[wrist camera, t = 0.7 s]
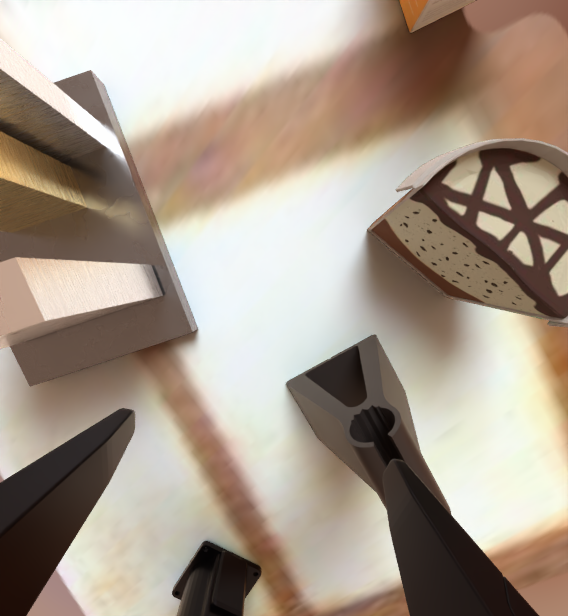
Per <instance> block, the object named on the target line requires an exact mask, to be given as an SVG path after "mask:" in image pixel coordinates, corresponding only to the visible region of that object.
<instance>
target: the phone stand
mask: <svg viewBox="0 0 568 616" xmlns="http://www.w3.org/2000/svg"><path fill="white" fill-rule="evenodd" d="M286 385H287V386H288V388H289V390H290V391H291V393H292V395H293V397H294V398H295V400H296V402H297V403H298V405H299V407H300V408H301V410H302V412H303V414H304V415H305V417H306V419H307V420H308V422H309V424H310V426H311V427H312V429H313V431H314V432H315V434H316V436H317V437H318V439H319V440H320V441H322V442H323V443H324V444H325V445H326V446H327V447H328V448H329V449H330V450H331V451H332V452H333V453H334V454H336V455H337V456H338V457H339V458H340V459H341V460H342V461H343V462H344V463H345V464H346V465H347V466H349V467H350V468H351V469H352V470H353V471H354V472H355V473H356V474H357V475H358V476H359V477H360V478H362V479H363V480H364V481H365V482H366V483H367V484H368V485H369V486H370V487H371V488H372V489H373V490H374V491H376V492H377V494H378V496H379V497H380V499H381V501H382V503H383V504H384V506H385V508H386V510H387V507H386V500H385V493H384V486H383V474H384V471H385V470H386V468H387V466H388V464H389V462H390V461H391V460H392V459H398V460H402V461H404V462H406V463H407V465H408V466H409V467H410V468H411V469H412V470H413V472H414V473H415V474H416V475H417V476H418V477H419V478H420V480H421V481H422V482H423V483H424V484H425V485H426V487H427V488H428V489H429V490H430V491H431V492H432V493H433V495H434V496H435V497H436V498H437V499H438V500H439V501H440V503H441V504H442V505H443V506H444V507H445V508H446V510H447V511H448V512H449V513H450V514H451V511H450V508H449V505H448V503H447V502H446V500H445V498H444V496H443V494H442V492H441V490H440V488H439V486H438V485H437V483H436V481H435V479H434V477H433V475H432V473H431V471H430V469H429V468H428V466H427V464H426V462H425V460H424V458H423V456H422V454H421V451H420V447H419V443H418V440H417V436H416V432H415V428H414V424H413V420H412V416H411V412H410V408H409V404H408V401H407V397H406V393H405V390H404V388H403V386H402V384H401V383H400V381H399V379H398V377H397V375H396V373H395V371H394V369H393V367H392V365H391V363H390V361H389V359H388V357H387V356H386V354H385V352H384V350H383V348H382V346H381V344H380V342H379V340H378V338H377V336H376V335H372V336H370V337H368V338H366V339H364V340H362V341H360V342H359V343H357V344H355V345H353V346H351V347H349V348H348V349H346V350H344V351H342V352H340V353H338V354H337V355H335V356H333V357H332V358H331V359H327V360H326V361H324V362H322V363H320V364H318V365H316V366H315V367H313V368H311V369H309V370H307V371H305V372H304V373H302V374H300V375H298V376H296V377H294V378H293V379H291V380H289V381H288V382H287V383H286Z"/></svg>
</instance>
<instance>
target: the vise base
mask: <svg viewBox="0 0 568 616" xmlns="http://www.w3.org/2000/svg"><path fill="white" fill-rule="evenodd" d="M0 131H1V132H3V133H5V134H7V135H9V136H11V137H13V138H15V139H17V140H19V141H21V142H23V143H25V144H27V145H28V146H30V147H32V148H34V149H36V150H38V151H40V152H42V153H44V154H46V155H48V156H50V157H52V158H54V159H56V160H58V161H60V162H62V163H64V164H66V165H68V166H69V167H71V170H72V172H73V175H74V177H75V179H76V182H77V184H78V187H79V189H80V191H81V194H82V196H83V199H84V201H85V203H86V206H87V207H86V208H83V209H80V210H78V211H75V212H72V213H69V214H66V215H63V216H60V217H57V218H54V219H51V220H48V221H45V222H42V223H39V224H36V225H33V226H30V227H27V228H25V229H22V230H19V231H16V232H13V233H11V232H4V231H0V262H3V261H6V260H9V259H12V258H15V257H19V258H37V259H55V260H74V261H92V262H110V263H128V264H146V265H151V266H152V269H153V271H154V274H155V276H156V279H157V281H158V284H159V286H160V289H161V291H162V294H163V296H160V297H157V298H154V299H151V300H148V301H145V302H142V303H139V304H137V305H134V306H131V307H128V308H125V309H122V310H119V311H116V312H113V313H110V314H107V315H104V316H101V317H98V318H95V319H92V320H89V321H86V322H83V323H80V324H77V325H74V326H71V327H68V328H65V329H62V330H59V331H56V332H53V333H50V334H47V335H44V336H41V337H38V338H35V339H32V340H29V341H26V342H23V343H20V344H17V345H13V346H10V347H11V349H12V351H13V353H14V355H15V357H16V359H17V361H18V363H19V365H20V367H21V369H22V371H23V373H24V375H25V377H26V380H27V382H28V384H29V386H33V385H36V384H39V383H42V382H45V381H48V380H51V379H54V378H57V377H60V376H63V375H66V374H69V373H72V372H75V371H78V370H81V369H84V368H87V367H90V366H93V365H96V364H99V363H102V362H105V361H108V360H111V359H114V358H117V357H120V356H123V355H126V354H129V353H132V352H135V351H138V350H141V349H144V348H147V347H150V346H153V345H156V344H159V343H162V342H165V341H168V340H171V339H174V338H177V337H180V336H183V335H186V334H189V333H192V332H194V331H195V330H196V329H198V327H197V325H196V322H195V320H194V317H193V314H192V312H191V309H190V307H189V304H188V301H187V299H186V296H185V294H184V291H183V288H182V286H181V283H180V281H179V278H178V275H177V273H176V270H175V268H174V265H173V263H172V260H171V257H170V255H169V252H168V250H167V247H166V244H165V242H164V239H163V237H162V234H161V231H160V229H159V226H158V224H157V221H156V218H155V216H154V213H153V211H152V208H151V205H150V203H149V200H148V198H147V195H146V192H145V190H144V187H143V185H142V182H141V179H140V177H139V174H138V172H137V169H136V166H135V164H134V161H133V159H132V156H131V153H130V151H129V148H128V146H127V143H126V141H125V138H124V135H123V133H122V130H121V128H120V125H119V122H118V120H117V117H116V115H115V112H114V109H113V107H112V104H111V102H110V99H109V96H108V94H107V91H106V89H105V86H104V84H103V83H102V82H101V81H100V80H99V79H98V78H97V76H96V75H95V74H94V73H93V72H92V71H91V70H90V71H87V72H84V73H81V74H78V75H75V76H72V77H69V78H66V79H63V80H61V81H58V82H55V83H52V82H51V81H50V80H49V79H48V78H47V77H45V76H44V75H43V74H42V73H41V72H40V71H38V70H37V69H36V68H35V67H34V66H32V65H31V64H30V63H29V62H28V61H27V60H25V59H24V58H23V57H22V56H21V55H20V54H18V53H17V52H16V51H15V50H14V49H12V48H11V47H10V46H9V45H8V44H7V43H5V42H4V41H3V40H2V39H1V38H0Z"/></svg>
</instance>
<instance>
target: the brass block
mask: <svg viewBox="0 0 568 616" xmlns="http://www.w3.org/2000/svg"><path fill="white" fill-rule="evenodd" d="M86 207H87V206H86V203H85V201H84V199H83V196H82V194H81V191H80V189H79V187H78V184H77V182H76V179H75V177H74V175H73V172H72V170H71V167H69V166H68V165H66V164H64V163H62V162H60V161H58V160H56V159H54V158H52V157H50V156H48V155H46V154H44V153H42V152H40V151H38V150H36V149H34V148H32V147H30V146H28V145H27V144H25V143H23V142H21V141H19V140H17V139H15V138H13V137H11V136H9V135H7V134H5V133H3V132H1V131H0V231H4V232H11V233H13V232H16V231H19V230H22V229H25V228H27V227H30V226H33V225H36V224H39V223H42V222H45V221H48V220H51V219H54V218H57V217H60V216H63V215H66V214H69V213H72V212H75V211H78V210H80V209H83V208H86Z"/></svg>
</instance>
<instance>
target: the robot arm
mask: <svg viewBox="0 0 568 616" xmlns="http://www.w3.org/2000/svg"><path fill="white" fill-rule="evenodd" d="M134 430H135V412H134V410H131V409H125V408H122V409H119V410H117V411H116V412H114V413H113V414H111V415H109V416H108V417H106V418H104V419H103V420H101V421H100V422H98V423H96V424H95V425H93V426H91V427H90V428H88V429H87V430H85V431H83V432H82V433H80V434H78V435H77V436H75V437H74V438H72V439H70V440H69V441H67V442H65V443H64V444H62V445H61V446H59V447H57V448H56V449H54V450H53V451H51V452H49V453H48V454H46V455H44V456H43V457H41V458H40V459H38V460H36V461H35V462H33V463H31V464H30V465H28V466H27V467H25V468H23V469H22V470H20V471H18V472H17V473H15V474H14V475H12V476H10V477H9V478H7V479H5V480H4V481H2V482H1V483H0V616H26V615H27V614H28V612H29V611H30V609H31V607H32V606H33V604H34V602H35V601H36V599H37V598H38V596H39V594H40V593H41V591H42V590H43V588H44V586H45V585H46V583H47V581H48V580H49V578H50V577H51V575H52V574H53V572H54V570H55V569H56V567H57V566H58V564H59V562H60V561H61V559H62V558H63V556H64V554H65V553H66V551H67V550H68V548H69V546H70V545H71V543H72V542H73V540H74V538H75V537H76V535H77V533H78V532H79V530H80V529H81V527H82V525H83V524H84V522H85V521H86V519H87V517H88V516H89V514H90V513H91V511H92V509H93V508H94V506H95V505H96V503H97V501H98V500H99V498H100V497H101V495H102V493H103V492H104V490H105V488H106V487H107V485H108V483H109V482H110V480H111V478H112V476H113V474H114V472H115V470H116V468H117V466H118V464H119V462H120V460H121V458H122V456H123V454H124V452H125V450H126V448H127V446H128V444H129V442H130V440H131V438H132V436H133V433H134ZM383 486H384V493H385V500H386V507H387V514H388V521H389V527H390V532H391V537H392V541H393V546H394V550H395V554H396V558H397V563H398V567H399V571H400V575H401V580H402V584H403V588H404V592H405V597H406V601H407V605H408V610H409V614H410V616H539V615H538V614H537V613H536V612H535V610H534V609H533V608H532V607H531V606H530V605H529V604H528V603H527V601H526V600H525V599H524V598H523V597H522V596H521V595H520V594H519V593H518V591H517V590H516V589H515V588H514V587H513V586H512V584H511V583H510V582H509V581H508V580H507V579H506V578H505V577H503V575H502V573H501V572H500V571H499V570H498V568H497V567H496V566H495V565H494V564H493V563H492V561H491V560H490V559H489V558H488V557H487V556H486V555H485V553H484V552H483V551H482V550H481V549H480V548H479V546H478V545H477V544H476V543H475V542H474V541H473V540H472V538H471V537H470V536H469V535H468V534H467V533H466V531H465V530H464V529H463V528H462V527H461V526H460V525H459V523H458V522H457V521H456V520H455V519H454V518H453V516H452V515H451V514H450V513H449V512H448V511H447V510H446V508H445V507H444V506H443V505H442V504H441V503H440V501H439V500H438V499H437V498H436V497H435V496H434V495H433V493H432V492H431V491H430V490H429V489H428V488H427V487H426V485H425V484H424V483H423V482H422V481H421V480H420V478H419V477H418V476H417V475H416V474H415V473H414V472H413V470H412V469H411V468H410V467H409V466H408V465H407V463H406V462H404V461H402V460H398V459H392V460H391V461H390V462H389V464H388V466H387V468H386V470H385V471H384V474H383ZM205 547H206V548H205ZM260 576H261V568H260V567H259V566H258V565H256V564H254V563H252V562H250V561H248V560H246V559H244V558H242V557H240V556H238V555H236V554H234V553H231V552H229V551H227V550H225V549H223V548H221V547H219V546H217V545H215V544H213V543H211V542H209V541H204V542H203V543H202V544H201V546H200V547H199V549H198V550H197V552H196V553H195V555H194V557H193V558H192V560H191V561H190V563H189V564H188V566H187V567H186V569H185V570H184V572H183V573H182V575H181V577H180V578H179V580H178V581H177V583H176V584H175V586H174V588H173V591H172V595H173V596H174V597H176V598H178V599H180V600H181V602H180V606H179V609H178V613H177V616H243V612H244V601H245V598H246V596H247V595H248V593H249V592H250V590H251V589H252V588H253V586H254V585H255V583H256V582H257V580H258V579H259V577H260Z"/></svg>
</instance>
